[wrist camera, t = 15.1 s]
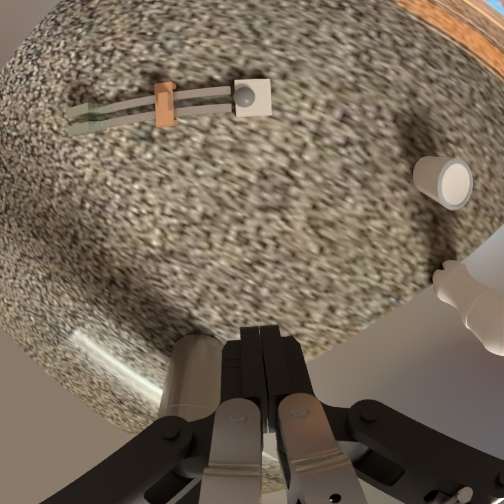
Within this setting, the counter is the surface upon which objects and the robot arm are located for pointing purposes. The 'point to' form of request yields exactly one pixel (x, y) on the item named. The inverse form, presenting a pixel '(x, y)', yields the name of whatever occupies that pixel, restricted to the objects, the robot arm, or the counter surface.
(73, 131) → the leg
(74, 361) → the counter surface
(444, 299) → the water bottle
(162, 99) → the stepped wooden block
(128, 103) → the leg
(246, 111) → the block
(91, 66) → the counter surface
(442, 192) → the shot glass
